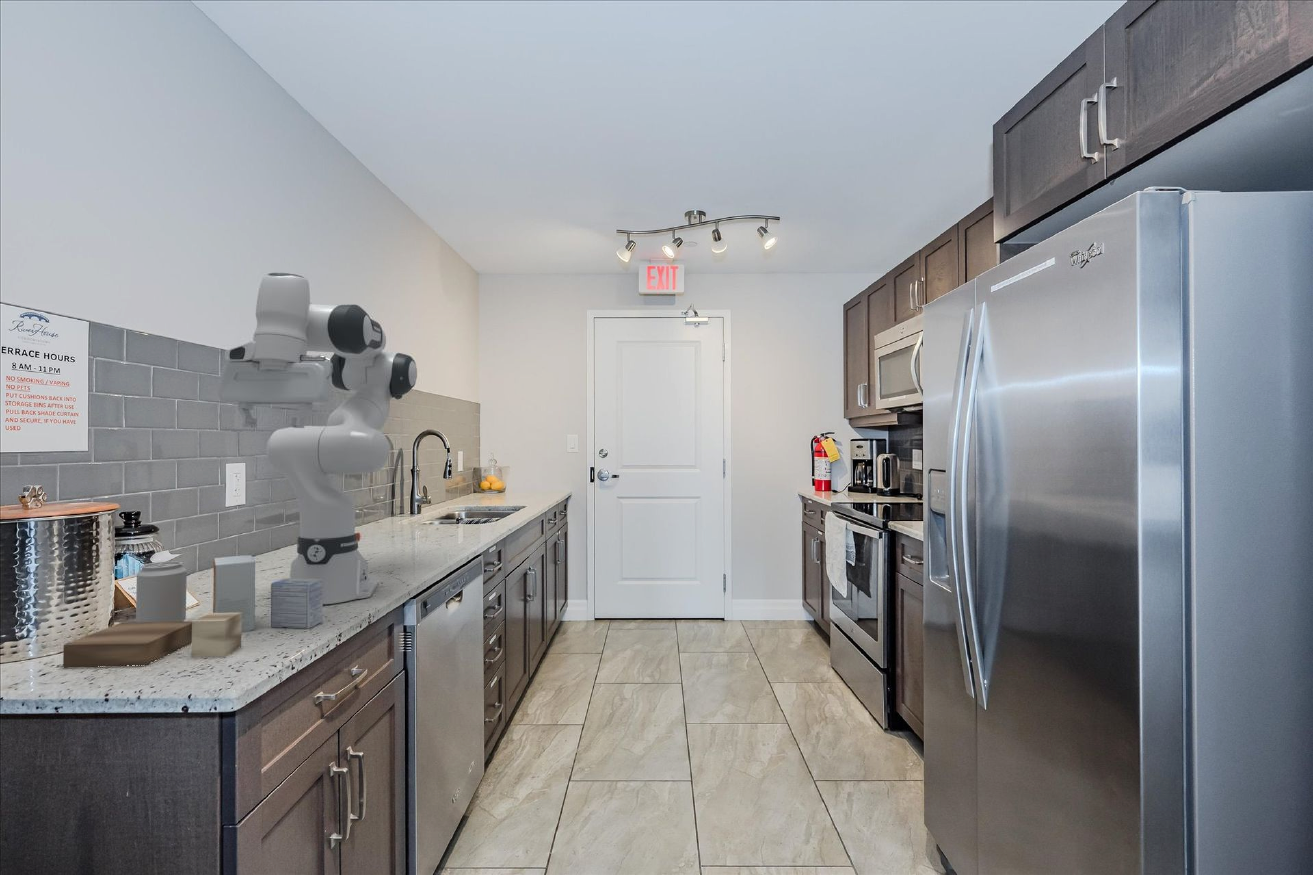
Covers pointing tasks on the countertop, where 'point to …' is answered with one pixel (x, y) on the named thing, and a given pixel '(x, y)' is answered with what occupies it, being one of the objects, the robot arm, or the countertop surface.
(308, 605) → the medicine box
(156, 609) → the can
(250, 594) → the small box
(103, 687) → the countertop surface
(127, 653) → the walnut block
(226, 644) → the maple block
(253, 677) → the countertop surface
